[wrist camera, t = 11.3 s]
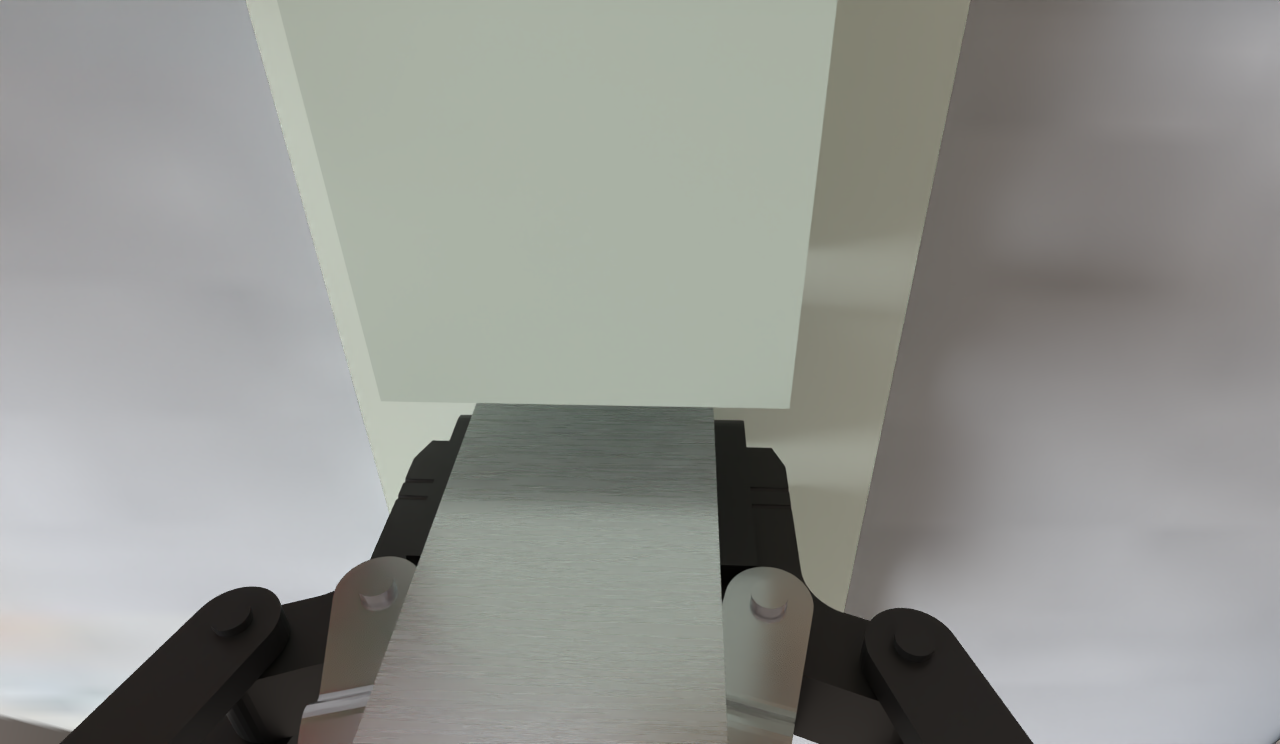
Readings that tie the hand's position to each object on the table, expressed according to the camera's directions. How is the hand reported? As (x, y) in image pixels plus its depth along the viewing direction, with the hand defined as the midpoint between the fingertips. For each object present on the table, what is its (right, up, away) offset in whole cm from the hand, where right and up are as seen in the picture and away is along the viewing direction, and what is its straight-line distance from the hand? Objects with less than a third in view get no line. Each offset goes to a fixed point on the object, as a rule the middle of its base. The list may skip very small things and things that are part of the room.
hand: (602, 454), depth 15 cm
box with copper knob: (0, +1, +1) cm, 1 cm away
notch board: (0, +1, +5) cm, 6 cm away
